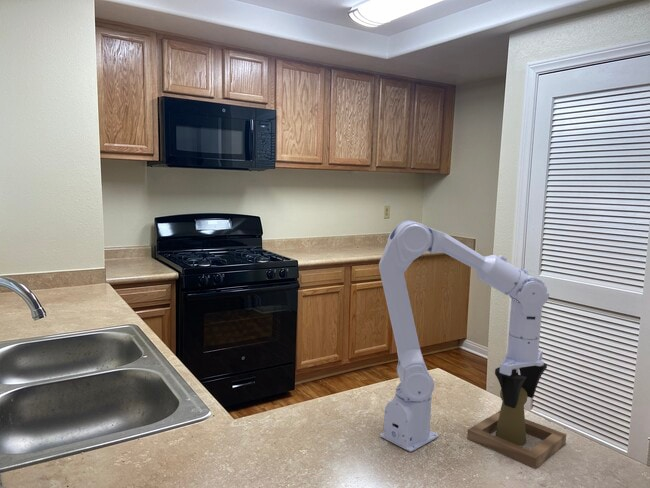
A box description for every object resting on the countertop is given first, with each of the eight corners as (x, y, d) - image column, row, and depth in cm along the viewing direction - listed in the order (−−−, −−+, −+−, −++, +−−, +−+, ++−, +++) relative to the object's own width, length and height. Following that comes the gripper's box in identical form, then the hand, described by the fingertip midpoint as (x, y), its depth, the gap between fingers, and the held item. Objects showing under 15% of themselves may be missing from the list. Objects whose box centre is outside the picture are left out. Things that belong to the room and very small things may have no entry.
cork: (527, 448, 95) (531, 394, 93) (495, 442, 96) (499, 390, 95) (524, 434, 100) (528, 383, 99) (494, 429, 102) (497, 379, 101)
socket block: (535, 468, 87) (536, 458, 87) (467, 438, 98) (467, 429, 97) (565, 443, 97) (566, 434, 97) (500, 418, 107) (501, 410, 107)
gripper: (527, 347, 87) (521, 418, 89) (559, 333, 97) (554, 398, 98) (491, 338, 92) (486, 405, 94) (525, 326, 102) (520, 387, 103)
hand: (518, 401), depth 96 cm, fingers open, 7 cm apart
